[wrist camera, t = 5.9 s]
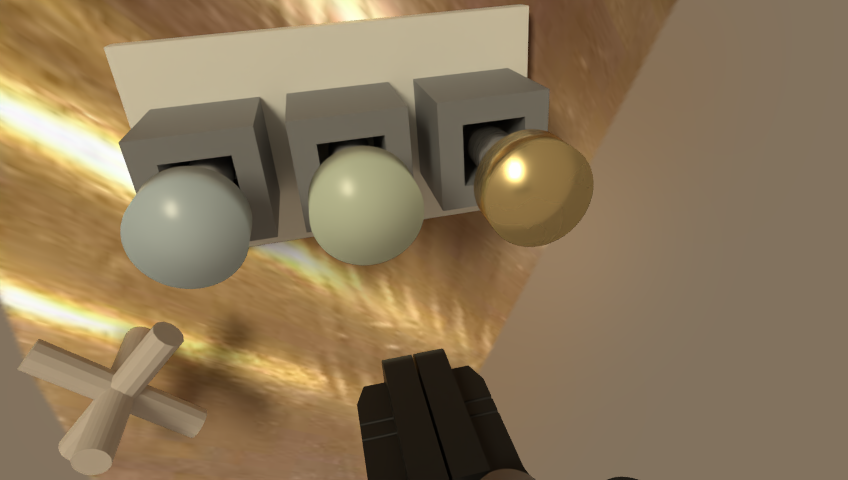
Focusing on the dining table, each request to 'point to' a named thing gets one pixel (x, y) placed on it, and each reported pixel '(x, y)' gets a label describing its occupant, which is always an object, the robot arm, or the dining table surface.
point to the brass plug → (527, 182)
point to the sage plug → (364, 204)
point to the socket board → (328, 103)
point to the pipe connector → (115, 393)
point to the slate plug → (189, 225)
